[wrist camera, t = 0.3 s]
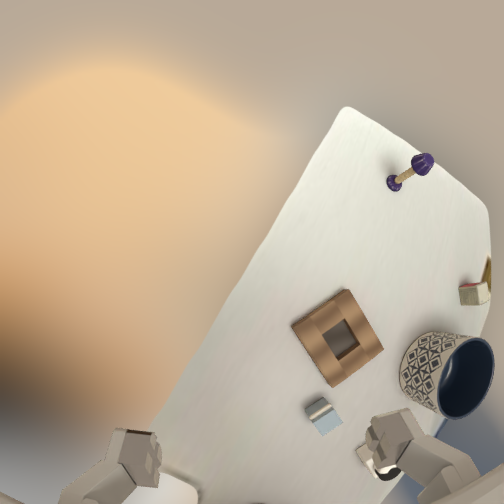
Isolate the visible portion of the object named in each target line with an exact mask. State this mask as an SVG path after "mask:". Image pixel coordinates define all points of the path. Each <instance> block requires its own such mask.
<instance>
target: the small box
mask: <svg viewBox="0 0 504 504" xmlns="http://www.w3.org/2000/svg"><path fill="white" fill-rule="evenodd" d="M459 293H460V300H461V305H482V304H484V303H486V302H487V301H489V293H488V286H487V282H481V283H471V284H466V285H463V286H461V287H459Z"/></svg>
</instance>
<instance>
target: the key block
mask: <svg viewBox="0 0 504 504" xmlns="http://www.w3.org/2000/svg"><path fill="white" fill-rule="evenodd" d="M305 411H306V413H307V414H308V416H309V418H310V419H311V421H312V423H313V424H314V425H315V427H316V428H317V430H318V431H319V432H320V434H321V435H322V436H324V435H325V434H327V433H328V432H330V431H331V430H333V429H334V428H336V427H337V426H339V425H340V424H342V423H343V422H342V420H341V419H340V417H339V416H338V414H337V413H336V411H335V410H334V408H333V407H332V406H331V405H330V403H328V402H327V400H326V399H325V398H324V397H323V398H322V399H320V400H319V401H317V402H316V403H314V404H313V405H311V406H309V407H308V408H306V409H305Z"/></svg>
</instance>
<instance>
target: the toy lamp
mask: <svg viewBox="0 0 504 504" xmlns="http://www.w3.org/2000/svg"><path fill="white" fill-rule="evenodd" d="M411 165H412V167H411V168H409V169H408V170H406V171H405V172H403V173H402V174H400V175H399V176H396V175H390V176H389V177H388V178H387V185H388V187H389V188H390V189H391V190H392V191H399V190H400V189H401V187H402V182H403V181H404V180H406V179H407V178H409V177H411V176H412V175H414V174H415V173H417V174H418V175H421V176H424V175H426V174H427V173H428V172H429V171H430V169H431V168H432V166H433V165H434V159H433V157H432V156H431V155H430V154H428V153H423V154H419V155H415V156H414V157H413V158H412V160H411Z"/></svg>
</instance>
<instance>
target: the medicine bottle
mask: <svg viewBox="0 0 504 504" xmlns="http://www.w3.org/2000/svg"><path fill="white" fill-rule="evenodd" d="M356 452H357V454H358V455H359V457H360V459H361V460H362V462H363V463H364V465H365V467H366V468H367V469H368V470H369V472H370V473H371V474H372V475H373V477H374V478H377V477H379V478H380V479H381V480H383V481H388V480H391V479H393V478H395V477H396V476H398V475H399V473H400V472H401V469H399V468H398V467H397V466H395V465H392V466H389V467H385V468H381V469H376V467H375V464H374V462H373V459H372V455H373V453H374V452H372V451H371V450H369V449H368V447H367V444H364V445H363V446H361V447H360V448H358V449H357V450H356Z"/></svg>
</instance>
